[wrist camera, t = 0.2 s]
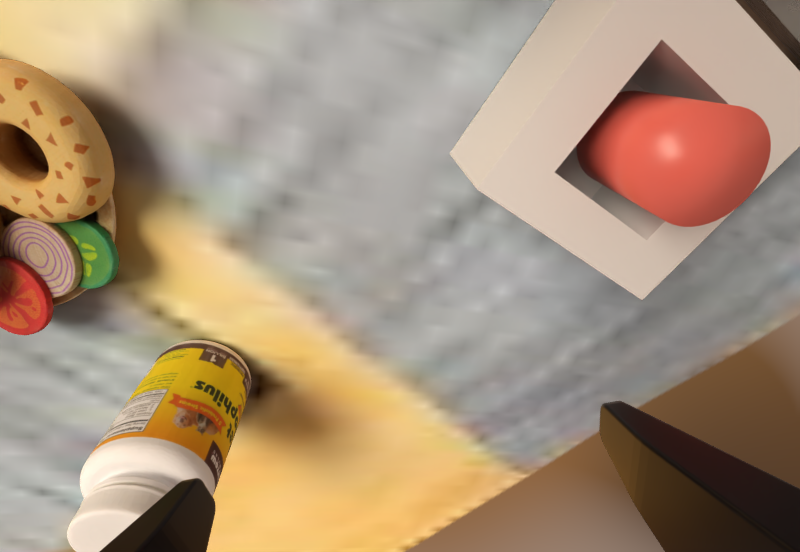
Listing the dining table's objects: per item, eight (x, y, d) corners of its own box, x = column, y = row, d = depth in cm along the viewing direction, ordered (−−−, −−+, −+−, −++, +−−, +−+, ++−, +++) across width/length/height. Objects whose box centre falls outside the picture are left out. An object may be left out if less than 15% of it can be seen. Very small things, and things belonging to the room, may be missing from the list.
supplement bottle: (269, 392, 27) (219, 564, 18) (189, 415, 28) (100, 594, 18) (226, 322, 24) (143, 482, 15) (138, 349, 25) (8, 520, 16)
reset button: (558, 153, 17) (623, 188, 13) (623, 70, 16) (721, 78, 12) (618, 199, 18) (698, 246, 14) (685, 125, 17) (795, 151, 13)
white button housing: (449, 153, 21) (477, 189, 15) (579, -35, 18) (669, -72, 12) (583, 245, 24) (645, 302, 18) (716, 97, 20) (838, 114, 15)
